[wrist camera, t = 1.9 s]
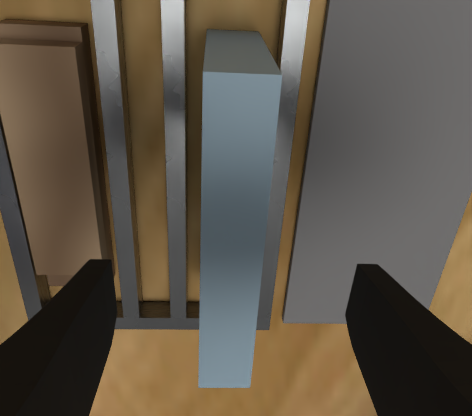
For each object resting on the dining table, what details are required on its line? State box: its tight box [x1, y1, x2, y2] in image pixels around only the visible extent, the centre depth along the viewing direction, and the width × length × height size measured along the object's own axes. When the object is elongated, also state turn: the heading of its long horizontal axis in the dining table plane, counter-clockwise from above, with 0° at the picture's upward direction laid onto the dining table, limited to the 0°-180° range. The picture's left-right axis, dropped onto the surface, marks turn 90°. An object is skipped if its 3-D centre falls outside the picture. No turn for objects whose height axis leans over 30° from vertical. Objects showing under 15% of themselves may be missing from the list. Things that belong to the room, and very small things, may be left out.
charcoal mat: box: [282, 0, 472, 324], centre depth 20 cm, size 8×18×1 cm, turn 177°
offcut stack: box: [0, 19, 115, 286], centre depth 19 cm, size 3×12×2 cm, turn 177°
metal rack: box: [0, 0, 310, 330], centre depth 19 cm, size 12×17×1 cm
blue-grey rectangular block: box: [199, 29, 282, 388], centre depth 17 cm, size 2×12×7 cm, turn 177°
